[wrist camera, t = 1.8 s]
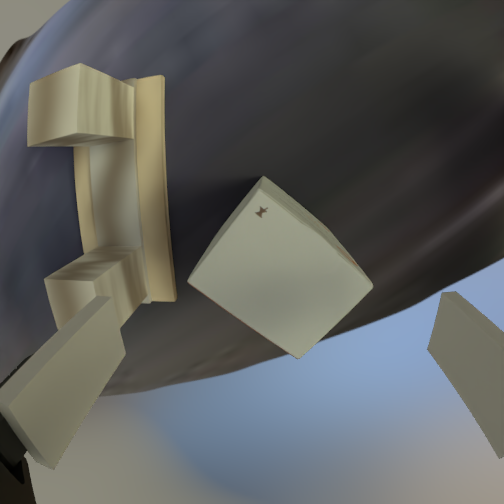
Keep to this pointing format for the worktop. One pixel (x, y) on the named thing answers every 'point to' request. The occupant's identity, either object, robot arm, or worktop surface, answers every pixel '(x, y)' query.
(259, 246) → the small box
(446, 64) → the worktop surface
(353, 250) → the worktop surface
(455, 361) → the robot arm
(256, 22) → the worktop surface
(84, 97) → the cream u-shaped bracket
